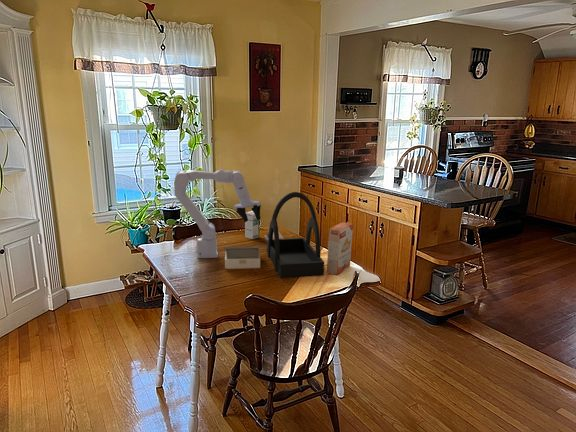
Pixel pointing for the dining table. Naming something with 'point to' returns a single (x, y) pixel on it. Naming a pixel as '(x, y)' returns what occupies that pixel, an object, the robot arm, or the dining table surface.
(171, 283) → the dining table surface
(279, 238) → the packaged product
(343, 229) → the cracker box
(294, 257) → the basket
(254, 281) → the dining table surface
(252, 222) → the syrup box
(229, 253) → the box
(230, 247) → the lid
